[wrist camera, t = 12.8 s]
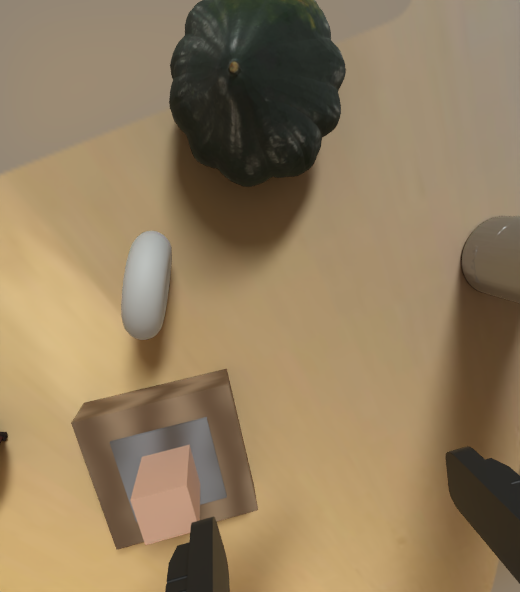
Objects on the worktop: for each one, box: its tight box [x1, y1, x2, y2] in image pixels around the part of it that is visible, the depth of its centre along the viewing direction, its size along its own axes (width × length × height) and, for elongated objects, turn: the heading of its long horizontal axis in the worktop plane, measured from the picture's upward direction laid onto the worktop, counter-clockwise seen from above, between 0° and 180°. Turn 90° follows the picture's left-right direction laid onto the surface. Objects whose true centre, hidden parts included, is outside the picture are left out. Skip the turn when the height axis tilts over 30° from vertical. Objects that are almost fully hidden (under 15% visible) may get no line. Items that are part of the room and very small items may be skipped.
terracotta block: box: [130, 445, 200, 545], centre depth 36 cm, size 5×5×6 cm
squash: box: [169, 0, 346, 187], centre depth 31 cm, size 14×15×15 cm
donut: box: [121, 231, 172, 340], centre depth 34 cm, size 10×3×10 cm, turn 171°
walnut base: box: [71, 369, 258, 549], centre depth 41 cm, size 16×16×4 cm
